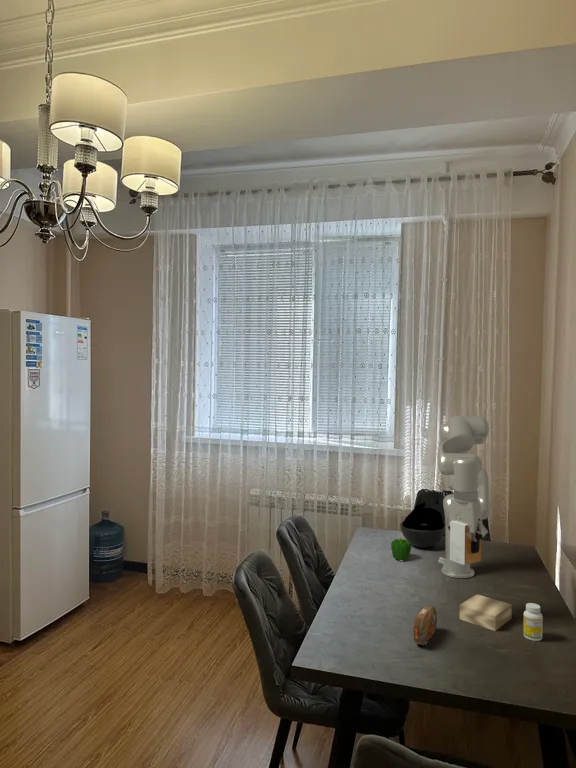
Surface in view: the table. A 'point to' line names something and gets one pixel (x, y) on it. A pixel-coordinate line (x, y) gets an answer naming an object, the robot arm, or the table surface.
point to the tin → (425, 625)
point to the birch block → (486, 612)
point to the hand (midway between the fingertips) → (465, 549)
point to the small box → (462, 544)
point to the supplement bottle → (533, 622)
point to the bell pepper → (401, 549)
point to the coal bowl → (423, 527)
